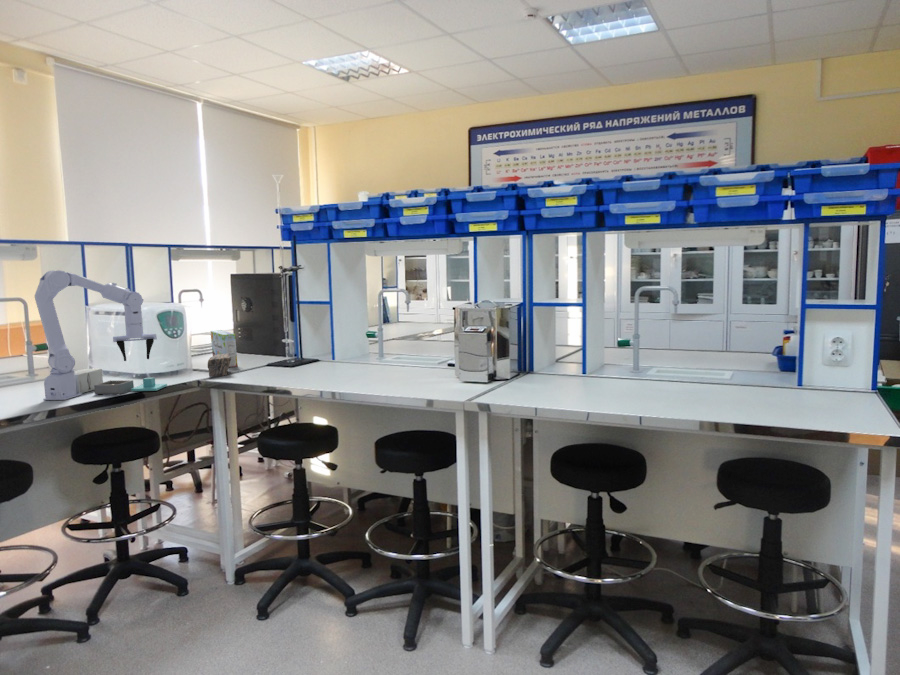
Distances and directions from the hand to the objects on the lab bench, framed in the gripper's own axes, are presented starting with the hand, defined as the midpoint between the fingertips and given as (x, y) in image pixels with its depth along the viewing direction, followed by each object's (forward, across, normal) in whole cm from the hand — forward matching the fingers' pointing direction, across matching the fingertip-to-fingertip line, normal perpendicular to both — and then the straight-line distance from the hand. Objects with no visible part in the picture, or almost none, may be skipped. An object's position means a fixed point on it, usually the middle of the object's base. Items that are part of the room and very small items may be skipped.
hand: (136, 359), depth 238 cm
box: (+10, +8, +7) cm, 15 cm away
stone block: (+11, -32, -12) cm, 36 cm away
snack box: (+10, -38, -39) cm, 55 cm away
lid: (+10, -3, +8) cm, 13 cm away
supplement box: (+7, +14, -8) cm, 18 cm away
